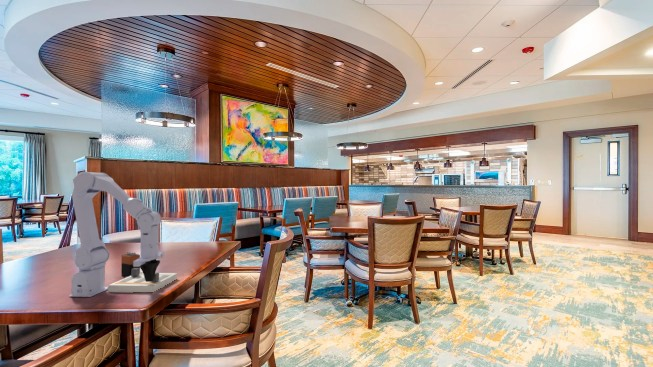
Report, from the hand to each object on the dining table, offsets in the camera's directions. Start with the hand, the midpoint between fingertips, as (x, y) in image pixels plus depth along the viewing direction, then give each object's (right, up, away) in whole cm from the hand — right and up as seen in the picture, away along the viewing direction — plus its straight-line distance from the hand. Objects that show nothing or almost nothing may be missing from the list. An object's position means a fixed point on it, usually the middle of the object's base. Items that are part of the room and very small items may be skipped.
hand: (149, 281), depth 111 cm
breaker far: (-12, -1, +10) cm, 15 cm away
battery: (-20, -4, +19) cm, 28 cm away
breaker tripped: (0, -1, +3) cm, 3 cm away
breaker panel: (-6, -4, +7) cm, 9 cm away
